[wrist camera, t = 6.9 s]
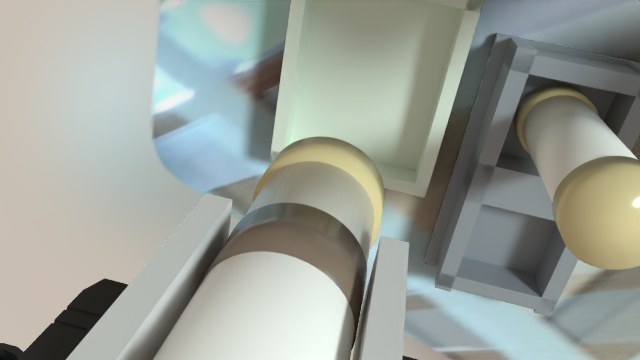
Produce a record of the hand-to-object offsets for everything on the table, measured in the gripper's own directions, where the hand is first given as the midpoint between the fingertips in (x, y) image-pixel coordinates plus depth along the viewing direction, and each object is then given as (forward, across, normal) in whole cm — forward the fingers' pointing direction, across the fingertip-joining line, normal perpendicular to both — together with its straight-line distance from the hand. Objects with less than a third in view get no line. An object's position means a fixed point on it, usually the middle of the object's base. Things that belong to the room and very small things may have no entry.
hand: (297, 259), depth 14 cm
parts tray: (+20, 0, 0) cm, 20 cm away
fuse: (+19, +11, 0) cm, 22 cm away
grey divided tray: (+20, +11, -4) cm, 23 cm away
